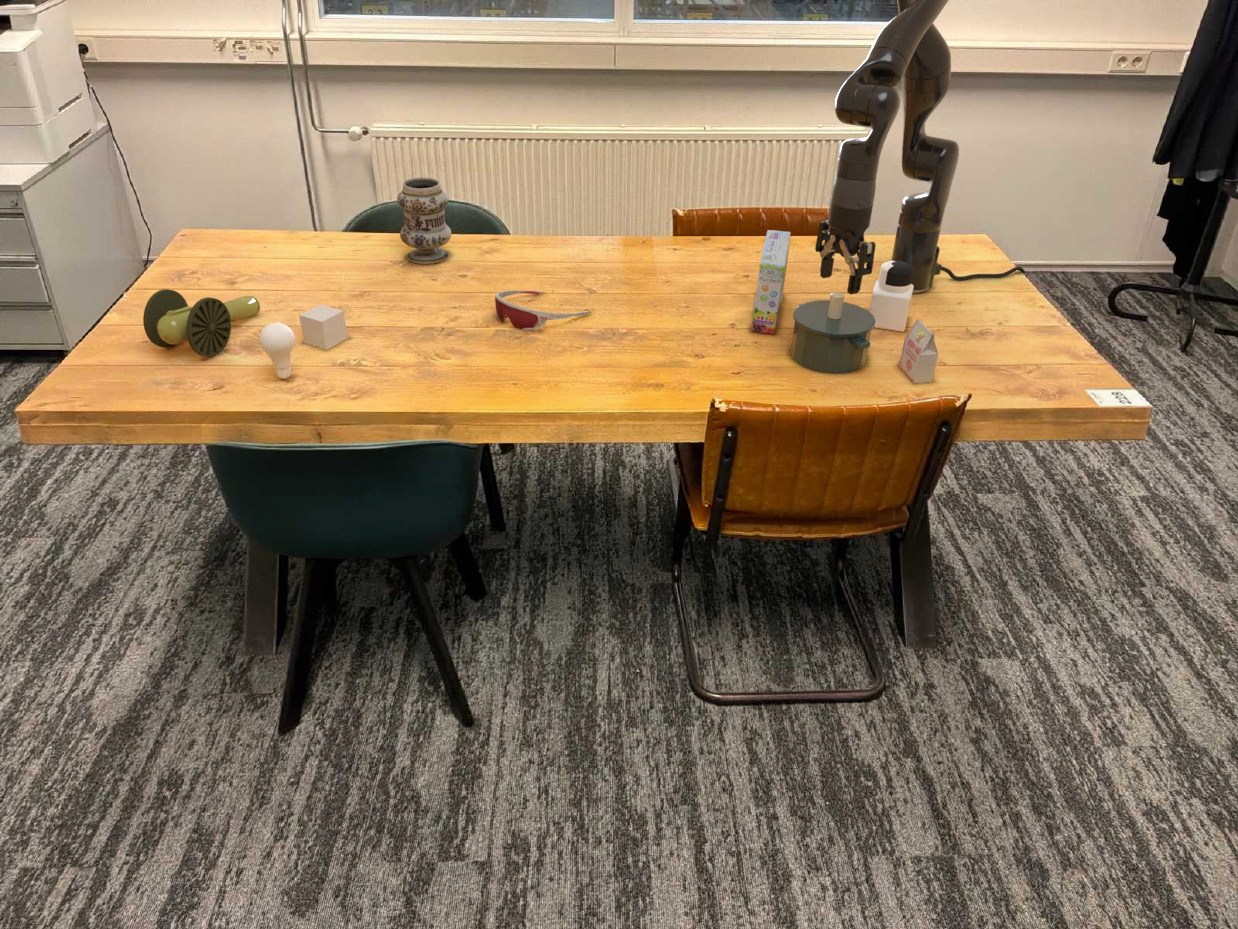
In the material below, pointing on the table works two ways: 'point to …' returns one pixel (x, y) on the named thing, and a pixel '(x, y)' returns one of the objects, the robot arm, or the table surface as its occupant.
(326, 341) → the grey cube
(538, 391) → the table surface
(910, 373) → the white carton
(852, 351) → the cooking pot
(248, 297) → the cannon
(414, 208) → the apothecary jar
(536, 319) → the sunglasses
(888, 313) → the container
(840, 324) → the lid
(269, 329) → the lightbulb
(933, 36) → the robot arm
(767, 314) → the snack box
